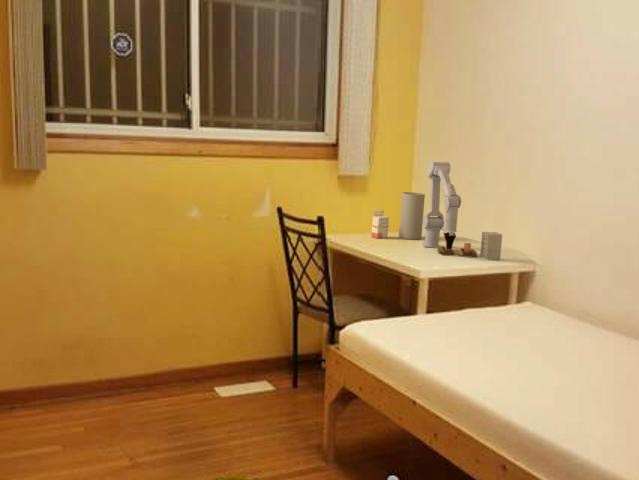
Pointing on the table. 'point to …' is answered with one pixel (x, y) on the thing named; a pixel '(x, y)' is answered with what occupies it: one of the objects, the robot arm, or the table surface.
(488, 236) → the supplement box
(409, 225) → the cylinder vase
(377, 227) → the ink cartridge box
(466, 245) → the pin
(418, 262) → the table surface
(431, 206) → the robot arm
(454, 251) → the wooden grid frame
